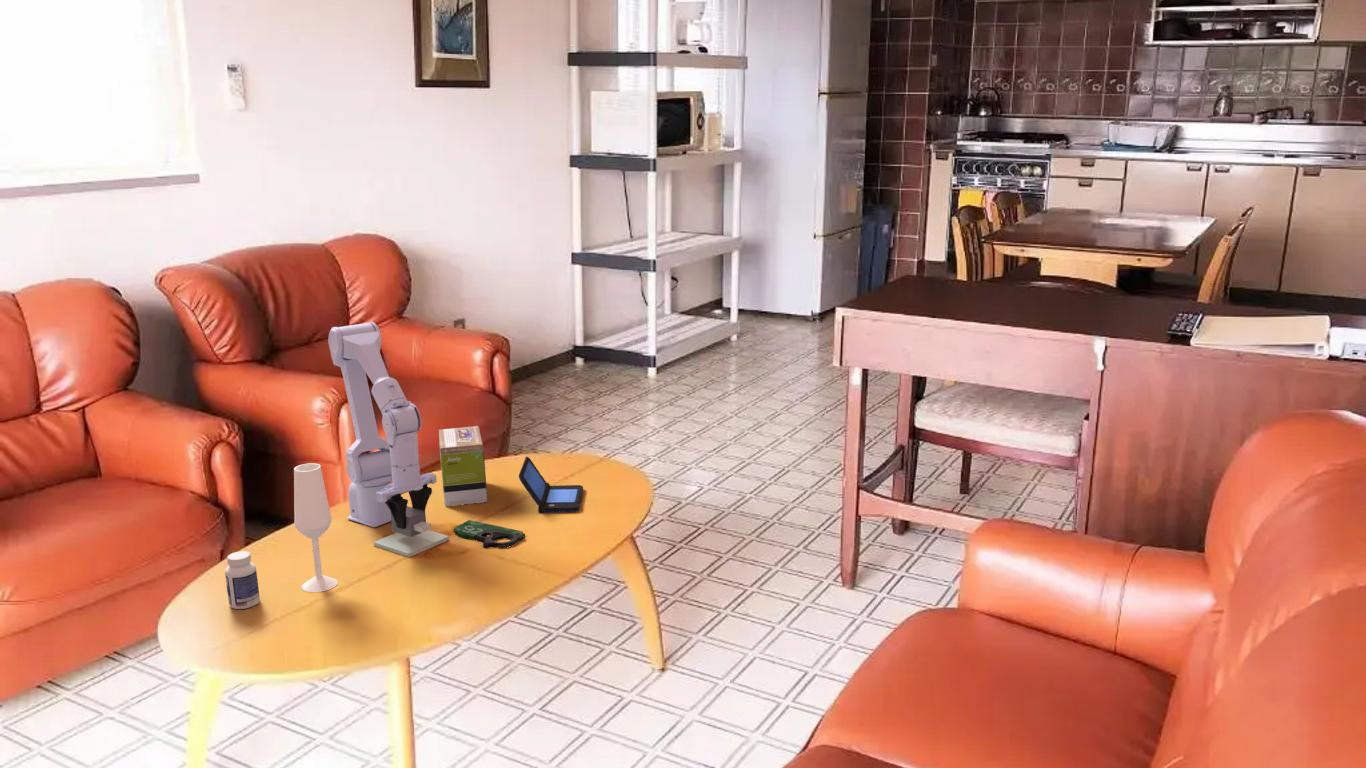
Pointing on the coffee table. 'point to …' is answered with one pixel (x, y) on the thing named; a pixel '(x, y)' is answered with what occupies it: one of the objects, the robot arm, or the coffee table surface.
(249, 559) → the pill bottle
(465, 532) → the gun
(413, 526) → the connector plug
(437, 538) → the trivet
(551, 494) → the handheld game console
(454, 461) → the tea box
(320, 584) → the champagne flute
